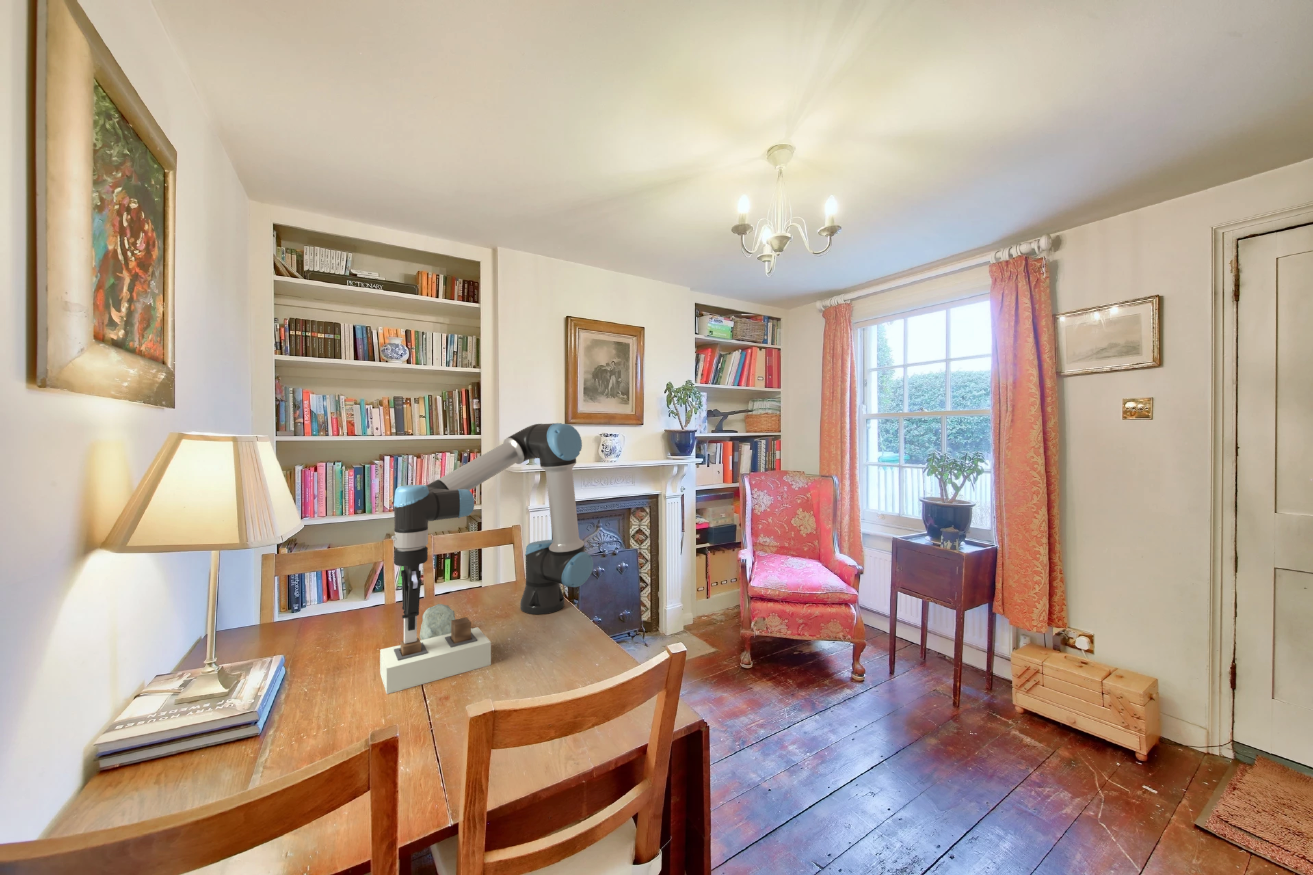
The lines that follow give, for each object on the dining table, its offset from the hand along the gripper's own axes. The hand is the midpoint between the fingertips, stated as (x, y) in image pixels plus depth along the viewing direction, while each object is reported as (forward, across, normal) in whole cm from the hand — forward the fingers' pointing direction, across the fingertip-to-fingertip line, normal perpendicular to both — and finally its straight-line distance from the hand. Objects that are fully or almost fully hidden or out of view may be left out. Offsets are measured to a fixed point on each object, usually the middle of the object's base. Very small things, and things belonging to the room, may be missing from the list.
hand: (410, 641), depth 118 cm
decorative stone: (+9, -18, +10) cm, 23 cm away
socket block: (+9, 0, +6) cm, 11 cm away
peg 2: (+4, 0, +12) cm, 13 cm away
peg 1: (+6, 0, 0) cm, 6 cm away
